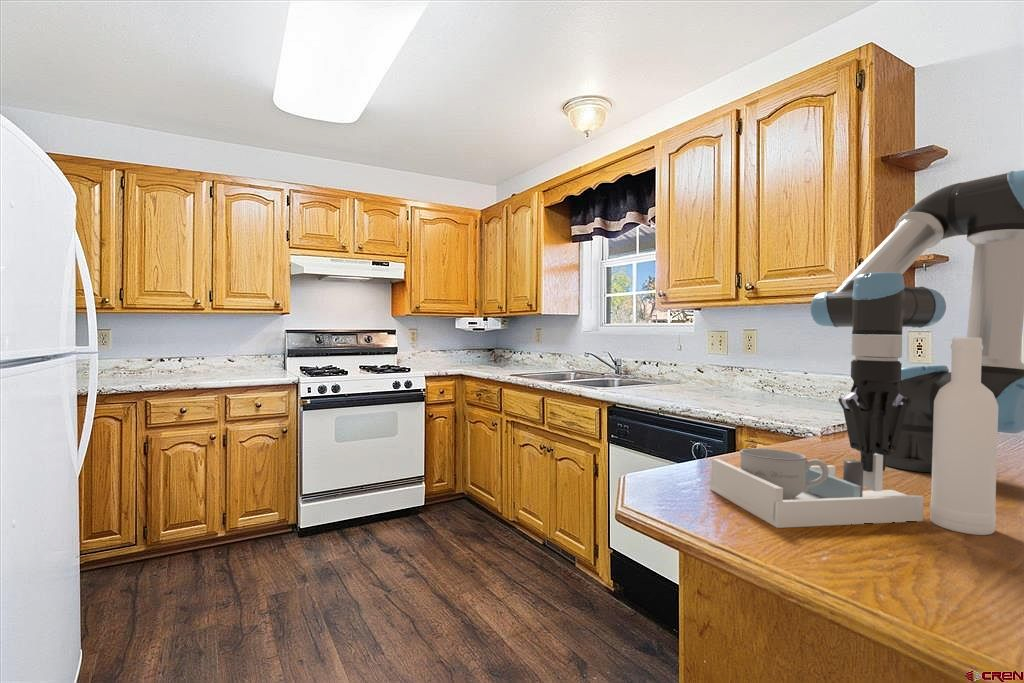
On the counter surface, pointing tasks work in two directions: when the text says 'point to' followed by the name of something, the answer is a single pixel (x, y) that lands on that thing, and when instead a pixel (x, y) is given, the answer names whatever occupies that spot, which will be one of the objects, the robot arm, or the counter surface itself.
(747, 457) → the teacup
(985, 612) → the counter surface
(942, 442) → the bottle
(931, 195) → the robot arm
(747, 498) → the tray
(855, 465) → the blue-grey panel and knob
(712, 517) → the counter surface
